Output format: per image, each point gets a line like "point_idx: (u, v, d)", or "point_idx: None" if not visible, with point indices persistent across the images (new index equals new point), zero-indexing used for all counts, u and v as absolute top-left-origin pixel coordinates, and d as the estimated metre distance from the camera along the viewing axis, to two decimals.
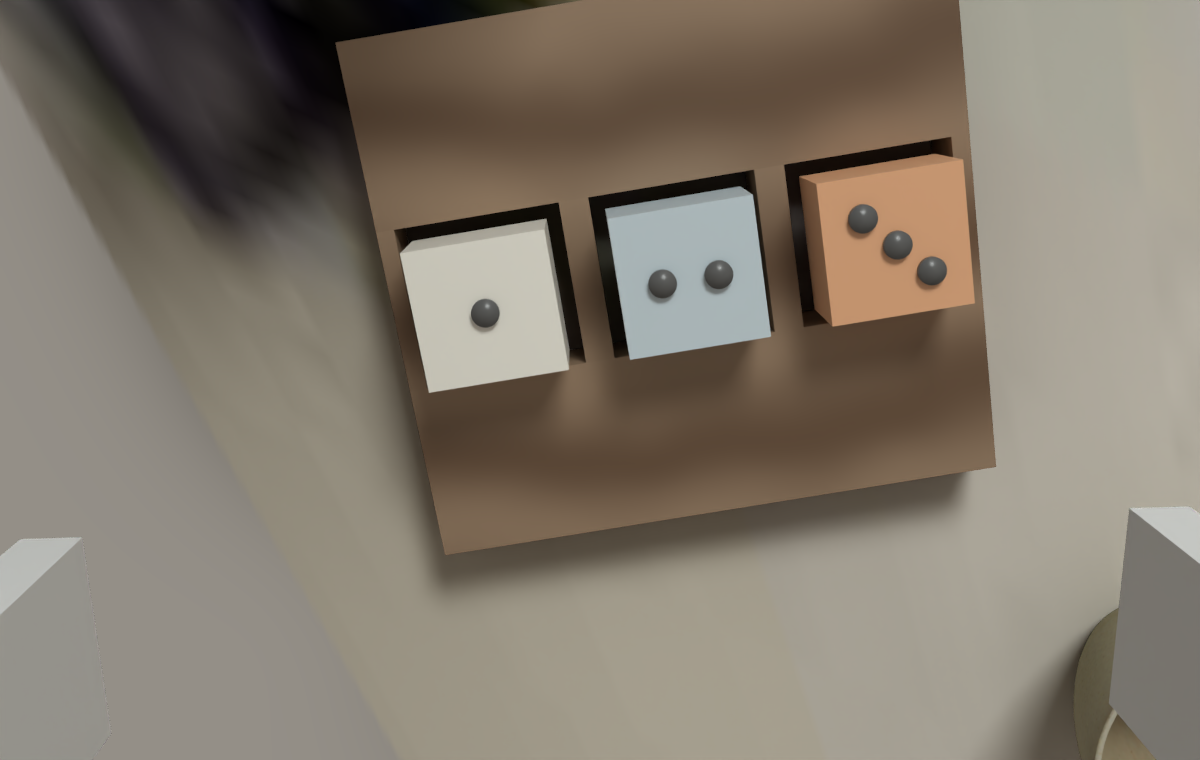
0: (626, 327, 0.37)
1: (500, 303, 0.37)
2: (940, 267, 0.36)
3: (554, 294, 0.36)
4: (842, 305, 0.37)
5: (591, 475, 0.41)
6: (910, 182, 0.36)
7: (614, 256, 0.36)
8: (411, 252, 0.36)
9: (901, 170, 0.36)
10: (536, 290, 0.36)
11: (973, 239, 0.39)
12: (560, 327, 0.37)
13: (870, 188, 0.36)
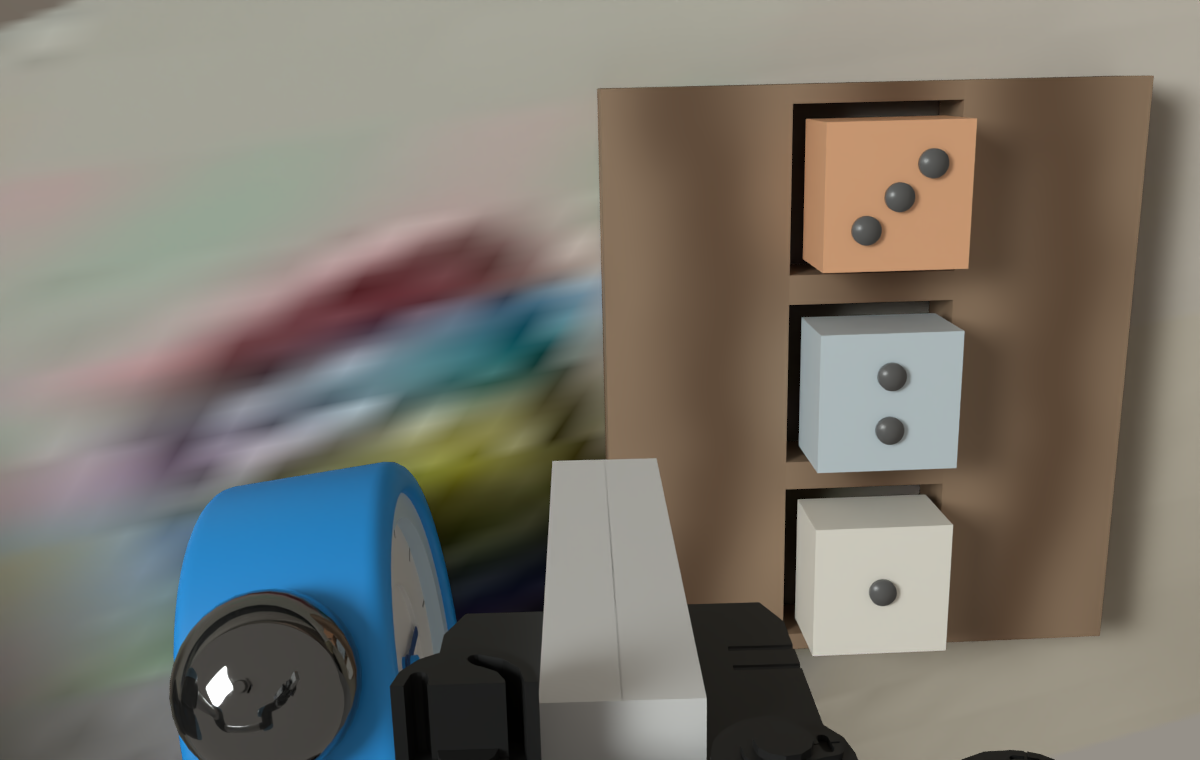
0: (924, 467, 0.38)
1: (876, 577, 0.39)
2: (932, 154, 0.35)
3: (878, 528, 0.38)
4: (948, 257, 0.36)
5: (1055, 492, 0.41)
6: (839, 178, 0.35)
7: (854, 470, 0.38)
8: (813, 646, 0.39)
9: (825, 186, 0.35)
10: (870, 544, 0.38)
11: (902, 86, 0.37)
12: (910, 527, 0.38)
13: (837, 219, 0.35)
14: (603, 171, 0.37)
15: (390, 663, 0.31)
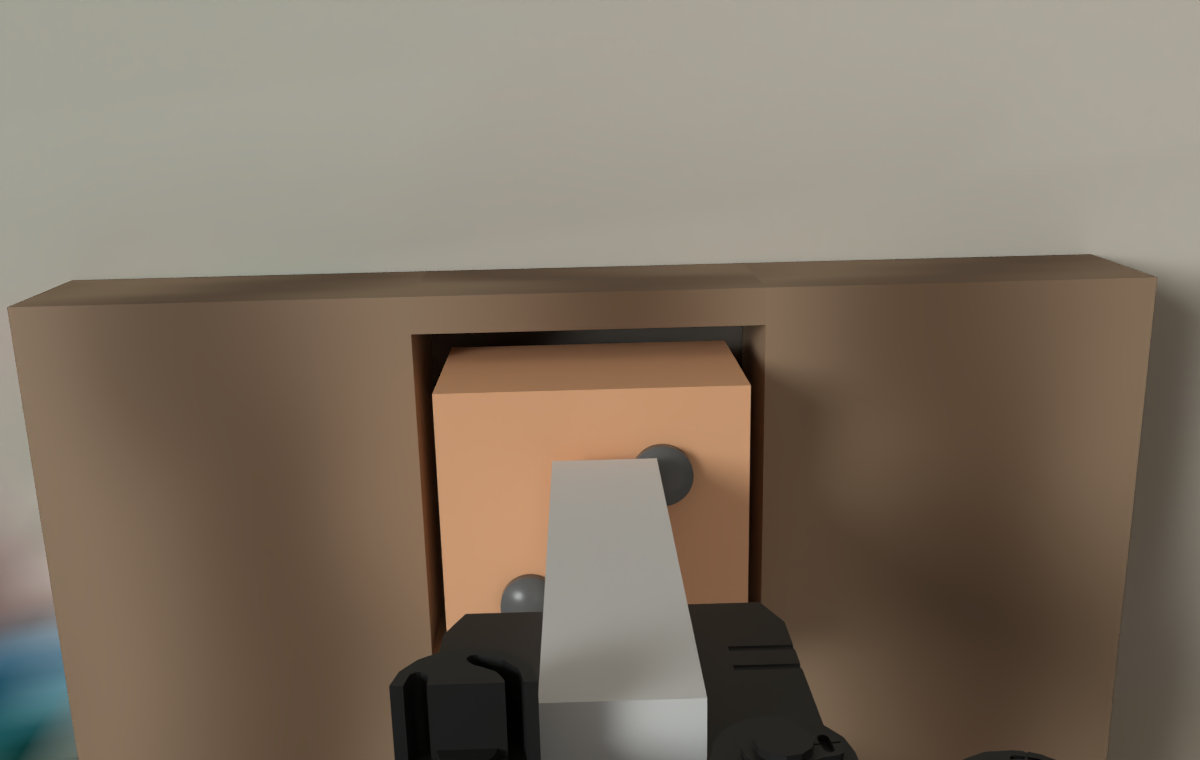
0: None
1: None
2: None
3: None
4: None
5: None
6: (468, 502, 0.17)
7: None
8: None
9: (441, 518, 0.17)
10: None
11: (635, 300, 0.18)
12: None
13: (471, 581, 0.17)
14: (34, 465, 0.18)
15: None
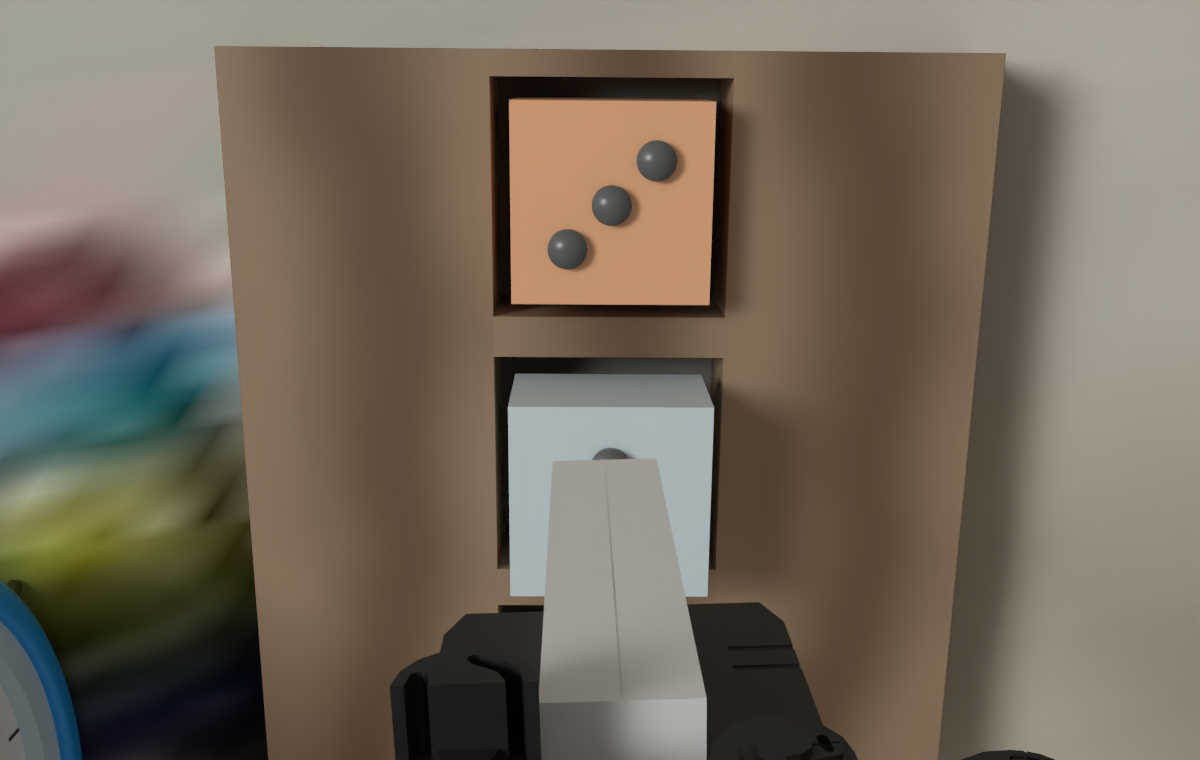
0: None
1: None
2: (653, 149, 0.26)
3: None
4: (682, 288, 0.27)
5: (870, 622, 0.30)
6: (529, 177, 0.26)
7: None
8: None
9: (511, 187, 0.26)
10: None
11: (644, 56, 0.26)
12: None
13: (529, 232, 0.26)
14: (224, 162, 0.27)
15: None
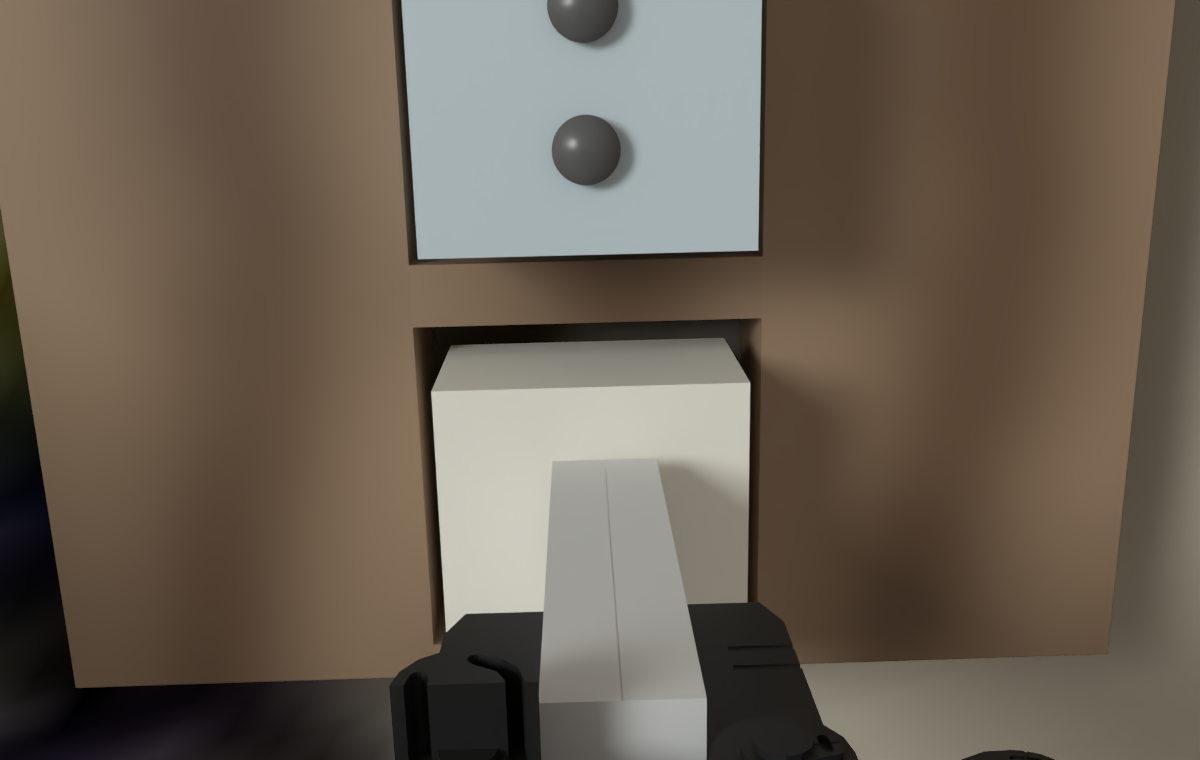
0: (679, 248, 0.16)
1: None
2: None
3: (576, 389, 0.17)
4: None
5: (1011, 340, 0.19)
6: None
7: (507, 254, 0.15)
8: None
9: None
10: (561, 426, 0.17)
11: None
12: (651, 387, 0.17)
13: None
14: None
15: None
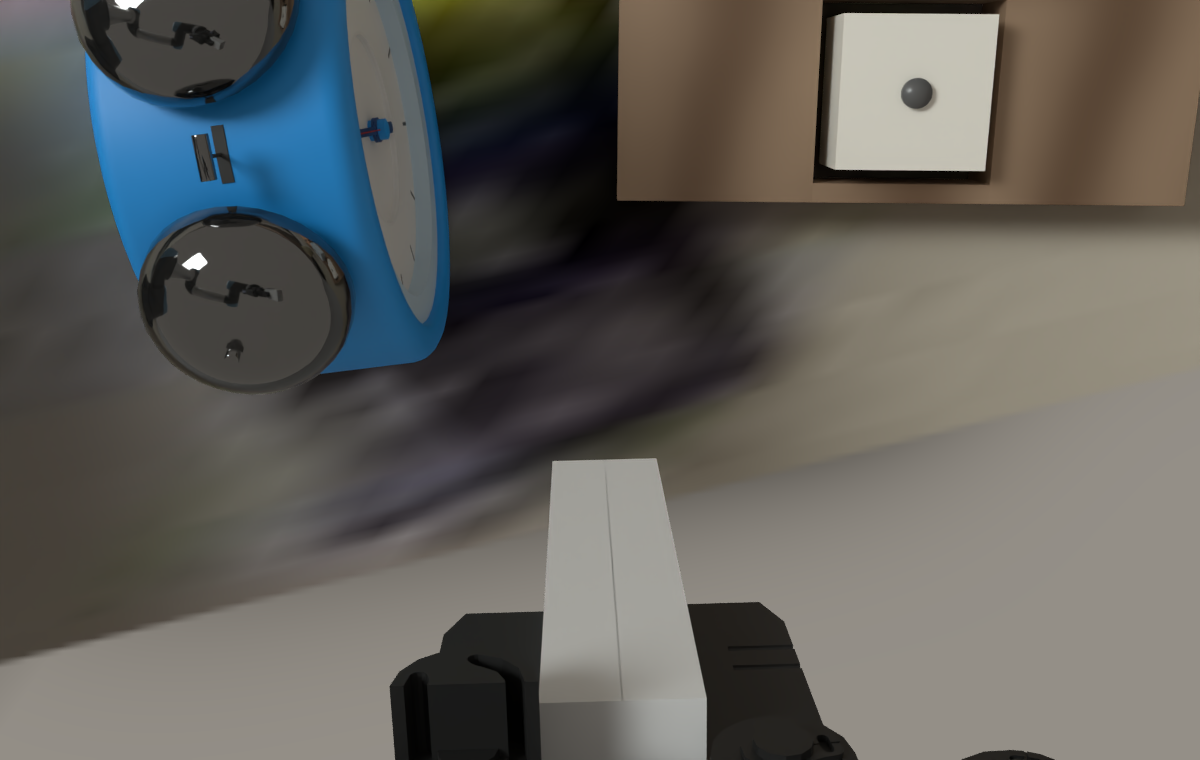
0: None
1: (910, 75, 0.35)
2: None
3: (914, 15, 0.34)
4: None
5: (1140, 16, 0.35)
6: None
7: None
8: (836, 157, 0.35)
9: None
10: (905, 33, 0.34)
11: None
12: (951, 15, 0.34)
13: None
14: None
15: (336, 3, 0.26)
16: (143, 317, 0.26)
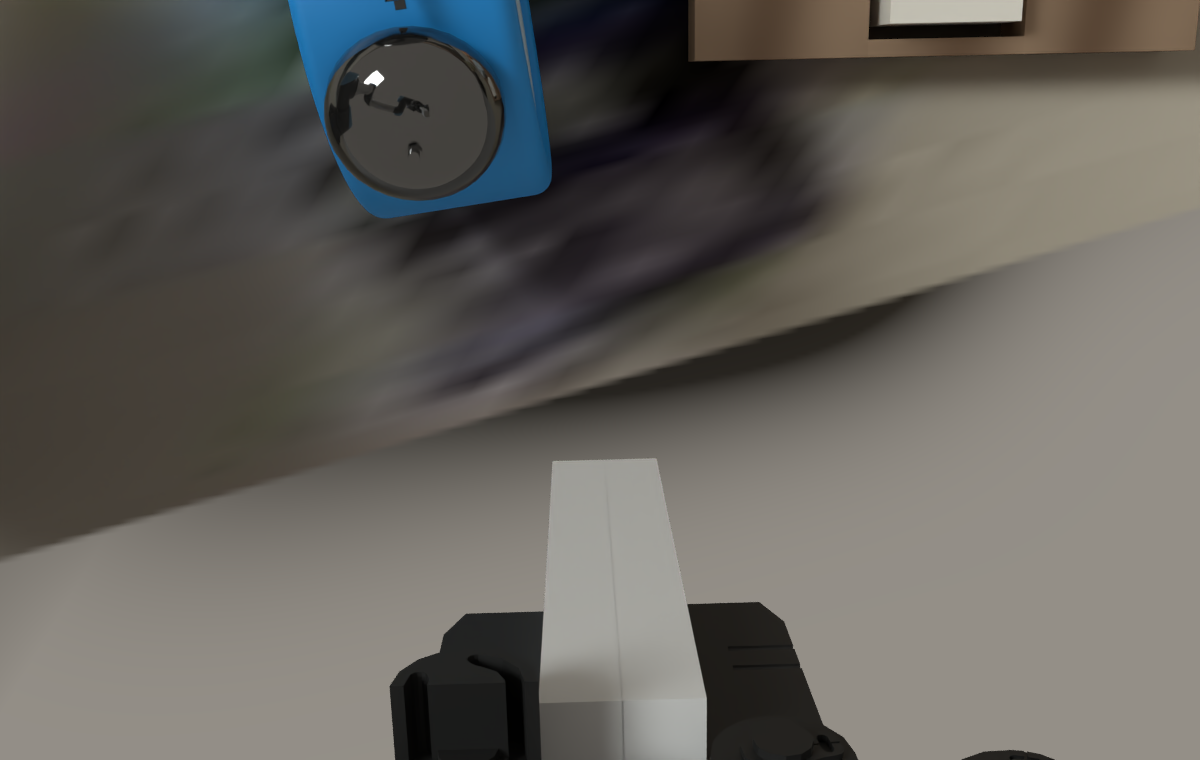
0: None
1: None
2: None
3: None
4: None
5: None
6: None
7: None
8: (891, 12, 0.40)
9: None
10: None
11: None
12: None
13: None
14: None
15: None
16: (331, 127, 0.30)
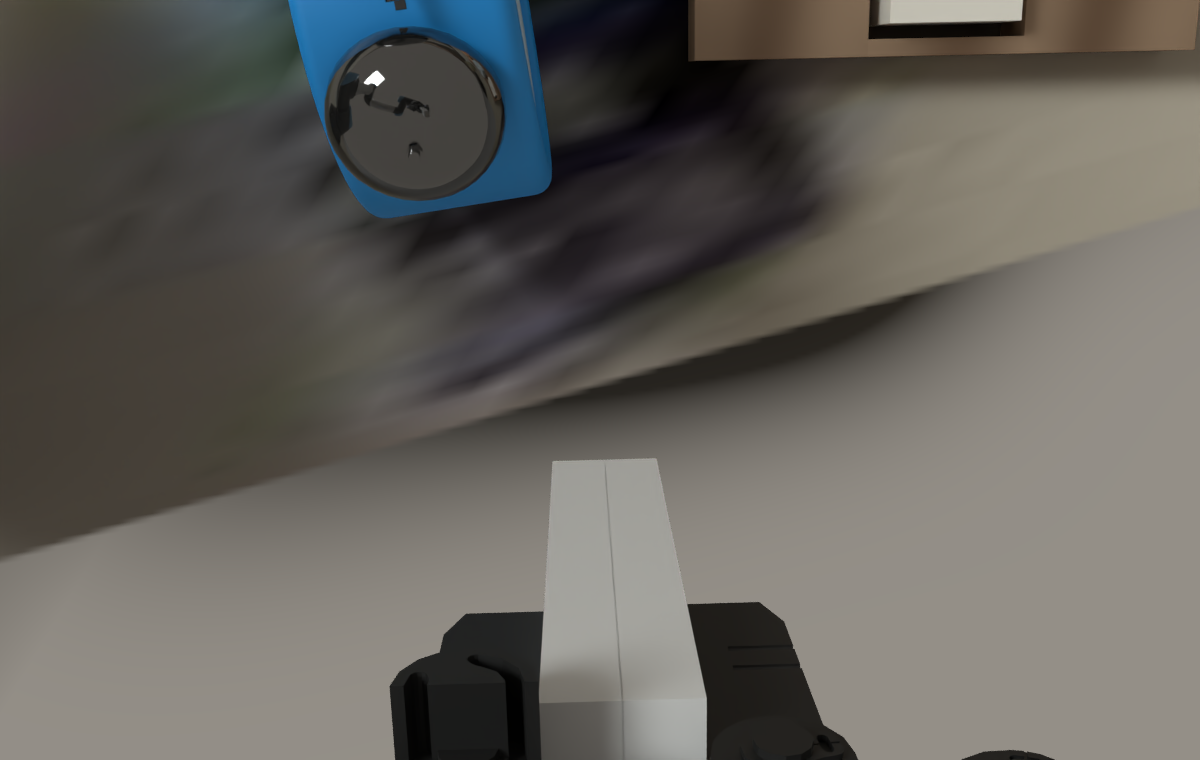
0: None
1: None
2: None
3: None
4: None
5: None
6: None
7: None
8: (891, 12, 0.40)
9: None
10: None
11: None
12: None
13: None
14: None
15: None
16: (331, 128, 0.30)
